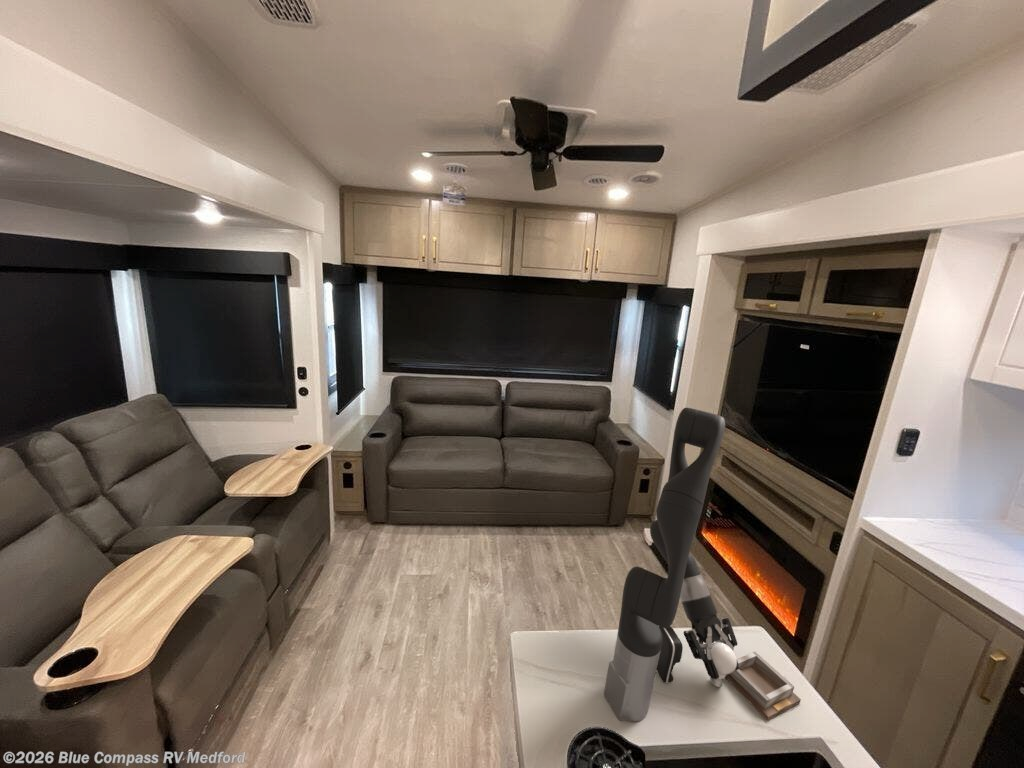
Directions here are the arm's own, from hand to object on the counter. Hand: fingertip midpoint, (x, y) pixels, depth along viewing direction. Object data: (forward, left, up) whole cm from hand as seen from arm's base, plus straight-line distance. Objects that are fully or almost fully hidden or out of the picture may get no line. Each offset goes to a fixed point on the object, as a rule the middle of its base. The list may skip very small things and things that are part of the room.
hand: (725, 673), depth 94 cm
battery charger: (-10, +9, -5) cm, 14 cm away
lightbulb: (0, +2, -5) cm, 5 cm away
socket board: (+10, -2, -5) cm, 11 cm away
